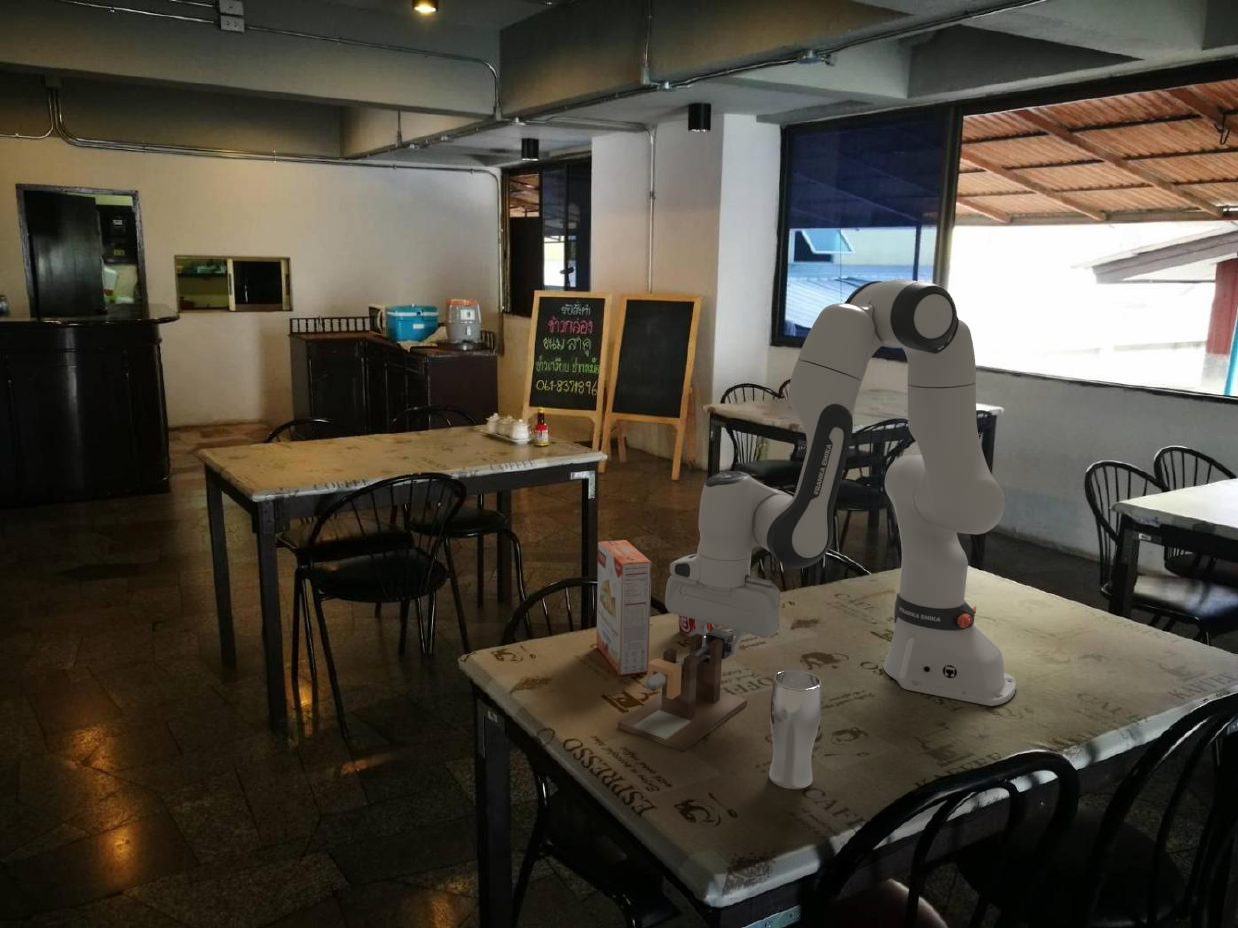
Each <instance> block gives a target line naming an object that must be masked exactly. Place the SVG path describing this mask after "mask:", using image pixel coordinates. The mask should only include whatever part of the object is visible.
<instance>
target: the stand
mask: <svg viewBox="0 0 1238 928" xmlns="http://www.w3.org/2000/svg"><path fill="white" fill-rule="evenodd" d="M702 638H703V635H701V634H697V633H696V634H694V635H693V636H691V637H689V652H688V653H689V654H690V655H689V654H687V655H688V656H687V655H685V656H684V657H683V658H684V673H682V674H681V694H680V695H678V696H677V697H675V698H673V699H670V698H667V683H666V684H664V685H663V686H661V694H660V695H659V696H657V697H656V698H654V699H652V700H651V701H649V702H648V703H646V704H645V705H642V706H641V707H639V708H638V709H636V710H634V711H633V712H631V713H630V714H627V716H625V717H623V718H622V719H620V720H619V721H617V729H620V730H622V731H625V732H628V733H630V734H633V735H636V736H639V737H640V738H641V737H642V738H645V739H646V740H647V739H648V740H649V741H653V742H655V743H658V744H660V745H664V746H666V747H670V748H672V749H675V750H677V751H681V752H685V751H687V750H688V749H689V748H690V747H692V746H693V745H694V744H696V743H697V742H698V741H700V740H701V739H703V738H704V737H705V736H706V735H708V734H710V733H711V732H712V731H713V730H716V729H717V728H718V727H719V726H720V725H722V724H723V723H725V722H726V721H727V720H729V719H730V718H731V717H732V716H734V715H736V714H737V713H738V712H740V711H741V710H742V709H743V708H745V707H746V706H747V705H748V699H747V698H743V697H741V696H739V695H734V694H732V693H728V692H725V691H722V690H721V681H722V679H721V678H722V665H723V664H722V662H723V659H722V647H723V641H722V640H719V639H715V640H714V641H712V642H710V657H709V658H707V659H705V660H704V661H702V662H701V663H699V664H697V655H693V654H691V653H693V652H694V651H696V650H698V649H699V648H701V647H703V646H702ZM662 654H663V658H662V660H664V661H667V662H671V663H675V662H677V657H678V656H677V654H678V650H677V648H676V649H675V648H672V647H670V648H667V649H666V650H664V651H663V653H662Z"/></svg>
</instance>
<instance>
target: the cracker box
mask: <svg viewBox="0 0 1238 928" xmlns="http://www.w3.org/2000/svg"><path fill="white" fill-rule="evenodd" d="M652 565H653V564H652V561H651V560H649V559H648V557H646V556H645V555H644V554H643V553H642V552H640V551H639V550H638V549H637V548H636V547H635V546H633V544H631V543H630V542H629V541H628V540H626V539H623V540H622V539H621V540H605V541H603V540H602V541H599V542H598V543H597V588H596V589H597V590H596V591H597V592H596V593H597V595H596V596H597V603H596V605H597V606H596V647H597V648H598V649H599V651H600V652H601V653H602V655H603V656H604V657H605V659H606V660H607V661H608V662H609V664H610V665H611V667H612V668H613V669H614V671H615V672H616V673H617V675H618V676H619V677H620V676H627V675H637V674H645V673H646V674H647V673H648V663H649V662H650V660H649V658H650V627H651V626H650V625H651V596H652V595H651V594H652V591H651V590H652Z"/></svg>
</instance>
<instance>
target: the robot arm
mask: <svg viewBox="0 0 1238 928" xmlns="http://www.w3.org/2000/svg"><path fill="white" fill-rule="evenodd" d="M971 333H972V332H971V330H970V327H969V326H968V325H967V323H965V322H964V321H962V320H961V319H959V317H958V312H957V308H956V304H955V301H954V299H953V297H952V296H951V294H950V293H949V292H948V291H947V290H946V289H945V288H944V287H942V286H940V285H938V284H936V283H933V282H930V281H926V280H921V281H920V280H914V279H913V280H912V279H892V280H885V281H884V280H883V281H882V280H875V281H870V282H868V283H864V284H862V285H861V286H858V287H857V288H856V289H855V290H853V292H851V294H850V295H849V296H848V297H847V298H846V300H845V301H844V302H842V303H841V302H840V303H839V302H838V303H832V304H830V305H828V306H825V308H824V309H822V310H821V312H820V313H819V314H818V315H817V318H816V319H815V321H814V323H813V325H812V326H811V328H810V330H809V332H808V334H807V336H806V338H805V340H804V343H803V345H802V347H801V349H800V352H799V354H798V357H797V360H796V362H795V365H794V368H793V371H792V374H791V377H790V380H789V388H788V395H787V396H788V401H789V402H788V403H789V405H790V407H791V409H792V411H793V413H794V414H795V415H796V417H797V419H798V420H799V422H800V423H801V425H802V427H803V431H804V432H805V436H806V452H805V456H804V459H803V464H802V467H801V471H800V474H799V479H798V482H797V486H796V489H795V493H794V494H793V495H791V494H789V493H786V492H784V491H782V490H779V489H777V488H772V487H770V486H768V485H765V484H763V483H761V482H760V481H758V480H756V479H754V478H753V477H752V476H751V475H750V474H749V473H747V472H744V471H723V472H719V473H716V474H713V475H712V476H710V477H709V478H708V479H707V480H706V481H705V483H704V484H703V488H702V492H701V496H700V502H699V511H698V532H699V533H700V534H699V543H698V546H697V548H696V549H697V550H696V551H697V553H693V554H689V555H686V556H683V557H681V558H678V559H676V560H674V561H672V562H671V563H670V564H669V572H670V574H671V575H670V576H669V577H668V579H667V581H666V582H667V583H666V587H665V596H664V605H665V608H666V610H667V611H668V613H670V614H673V615H676V616H677V615H678V616H679V615H681V616H684V617H688V618H692V619H695V626H696V629H697V631H698V633H699V634H701V635H703V638H702V647H703V646H705V645H706V633H708V629H707V627H706V624H707V623H711V624H714V626H718V627H722V628H727V629H730V630H732V633H733V635H734V639H733V640H731V641H730V642H728V643H727V645H726V647H727V649H726V652H727V653H731V654H732V655H737V654H738V653H739V651H740V643H741V642H742V640H743V639H744V638H745V636H746V635H747V634H749V635H752V636H757V637H760V638H765V639H768V638H770V637H772V636H773V635H775V634H776V633H777V632H778V631H779V630H780V627H781V626H780V623H781V622H780V621H781V620H780V616H781V615H780V602H781V590H780V589H779V587H778V586H777V585H776V584H774V583H773V581H772V580H769V579H762V578H761V577H756V576H752V575H751V561H752V551H753V549H754V548H755V547H756V548H760V547H762V548H764V549H765V550H766V551H768V552H770V553H771V554H772V555H773V557H775V558H776V559H777V560H778V561H779V562H780V563H781V564H782V565H783V566H785V567H788V568H790V569H804V568H805V569H806V568H808V567H810V566H814V565H815V564H816V563H818V562H819V561H821V559H823V557H825V555H826V554H827V552H828V551H829V550H830V547H831V545H832V543H833V536H834V512H835V511H834V510H835V504H836V502H837V501H836V500H837V497H838V493H839V489H840V485H841V481H842V478H843V473H844V472H845V471H844V470H845V467H846V462H847V459H848V455H849V452H850V446H851V442H852V438H853V430H854V429H853V428H854V420H853V419H854V412H855V408H856V403H857V399H858V395H859V393H860V390H861V389H860V388H862V387H861V386H862V383H863V382H864V381H863V380H864V378H865V375H866V372H867V369H868V366H869V362H870V361H871V359H872V357H873V356H874V354H875V353H876V352H877V351H878V349H880V348H881V347H885V348H891V349H899V348H900V349H901V348H902V350H903V351H904V353H905V356H906V360H907V427H908V430H909V433H910V434H911V436H912V437H913V439H914V440H915V442H916V444H917V446H918V449H919V452H920V454H906V455H902V456H899V457H898V458H897V459H895V460H894V461H893V462H892V463H891V464H890V465H889V467H888V469H887V470H886V473H885V477H884V490H885V492H886V494H887V496H888V498H889V499H890V501H891V504H892V505H893V508H894V513H895V516H896V521H897V526H898V527H897V528H898V531H899V532H898V533H899V538H900V543H901V544H900V545H901V566H900V567H901V568H900V581H899V590H898V592H897V594H896V599H895V602H894V609H893V611H894V612H893V616H894V618H893V619H894V621H893V622H894V630H893V635H892V639H891V642H890V645H889V650H888V653H887V655H886V657H885V660H884V662H883V666H882V667H883V670H884V671H885V673H886V674H887V675H889V677H891V678H893V679H894V680H896V681H897V683H898V685H900V687H901V688H902V689H904V690H907V691H911V692H918V693H922V694H927V695H932V696H933V695H934V696H937V697H943V698H949V699H954V700H957V701H963V702H969V703H973V704H979V705H984V706H989V707H994V706H998V705H1002V704H1005V703H1006V702H1008V701H1010V700H1011V699H1012V698H1013V697H1014V695H1015V693H1016V691H1017V681H1016V679H1015V678H1014V677H1013V675H1011V674H1009V673H1006V672H1005V666H1004V657H1003V653H1002V651H1001V649H1000V648H999V647H998V646H997V645H996V644H995V643H994V642H993V641H991V639H989V638H988V637H987V636H986V635H985V634H984V633H983V632H982V631H981V630H980V629H979V628H978V627H976V625H975V624H974V623H975V615H976V613H977V606H974V607H973V608H972V607H971V606H970V605H969V604H968V603H967V602H966V601H965V596H966V588H967V586H966V585H967V577H968V570H969V569H968V568H969V567H968V566H969V561H968V558H967V555H966V552H965V550H964V549H963V548H962V545H961V542H960V540H959V537H958V534H957V533H959V534H960V533H961V534H967V535H982V534H985V533H987V532H989V531H990V530H992V529H994V528H995V527H996V526H997V524H998V523H999V522H1000V521H1001V519H1002V517H1003V514H1004V513H1005V507H1006V499H1005V498H1006V497H1005V493H1004V491H1003V489H1002V488H1001V485H999V484H998V482H997V481H996V479H995V478H994V476H993V475H992V473H991V471H990V468H989V466H988V463H987V461H986V458H985V455H984V451H983V448H982V444H981V441H980V437H979V432H978V431H979V429H978V424H977V421H978V420H977V369H976V366H977V365H976V356H975V349H974V343H973V339H972V338H973V337H972V334H971ZM1015 690H1016V691H1015Z"/></svg>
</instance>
